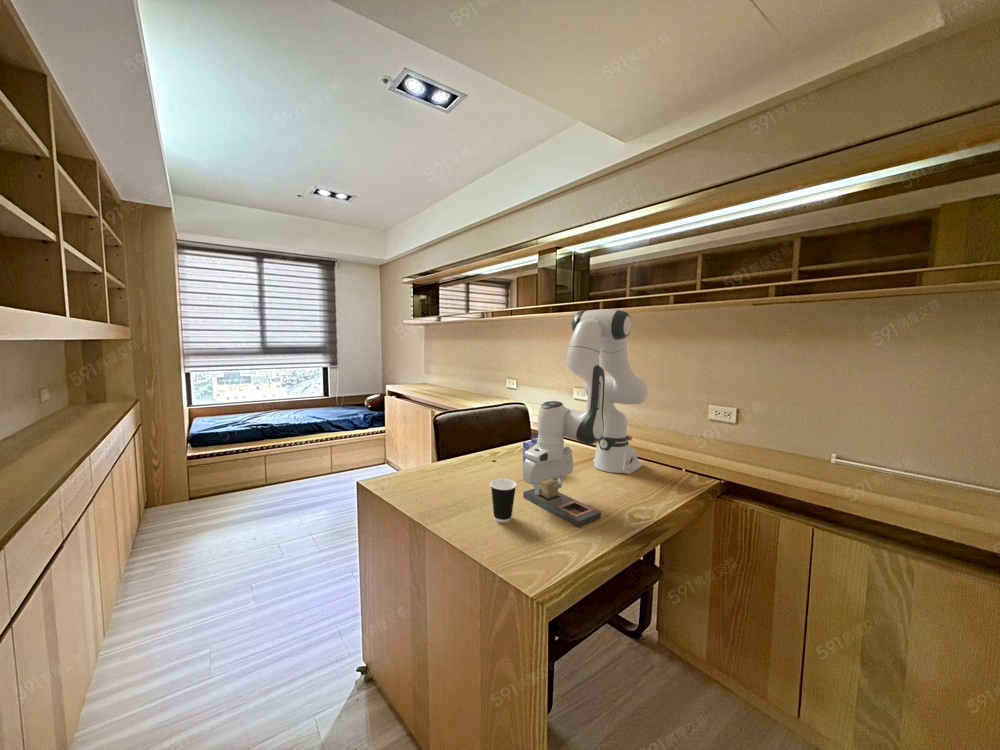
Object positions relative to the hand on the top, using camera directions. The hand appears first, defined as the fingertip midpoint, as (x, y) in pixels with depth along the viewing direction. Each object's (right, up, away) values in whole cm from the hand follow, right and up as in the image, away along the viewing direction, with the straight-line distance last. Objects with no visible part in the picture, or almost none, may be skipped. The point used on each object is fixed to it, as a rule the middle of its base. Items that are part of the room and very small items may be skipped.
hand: (548, 490), depth 127 cm
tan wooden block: (0, -4, +1) cm, 4 cm away
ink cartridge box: (-2, -1, +29) cm, 29 cm away
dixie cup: (-15, -5, -12) cm, 20 cm away
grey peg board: (+3, -4, -4) cm, 7 cm away
